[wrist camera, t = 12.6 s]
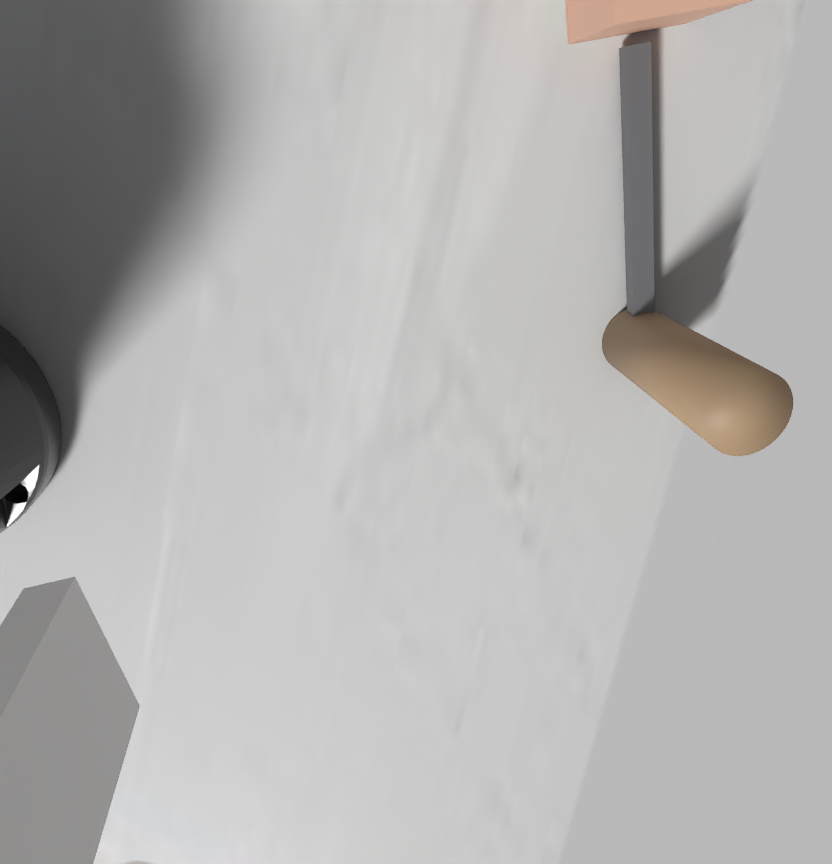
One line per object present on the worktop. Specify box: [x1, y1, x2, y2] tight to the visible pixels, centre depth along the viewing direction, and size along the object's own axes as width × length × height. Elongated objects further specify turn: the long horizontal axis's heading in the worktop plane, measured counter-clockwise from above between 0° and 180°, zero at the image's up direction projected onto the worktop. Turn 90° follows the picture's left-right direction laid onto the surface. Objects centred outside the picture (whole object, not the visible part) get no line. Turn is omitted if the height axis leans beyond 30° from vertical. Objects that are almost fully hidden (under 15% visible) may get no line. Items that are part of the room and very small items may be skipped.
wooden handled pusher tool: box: [566, 0, 793, 456], centre depth 30 cm, size 6×24×12 cm, turn 9°
